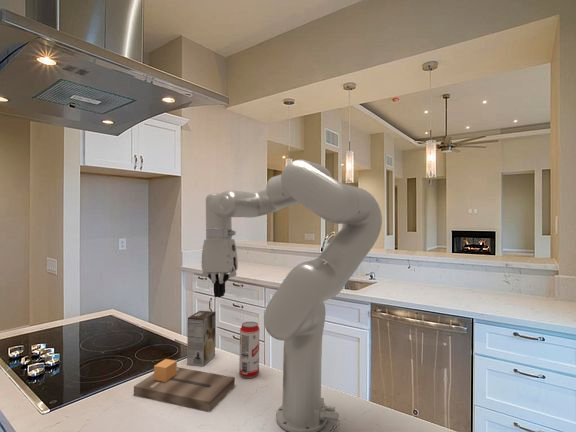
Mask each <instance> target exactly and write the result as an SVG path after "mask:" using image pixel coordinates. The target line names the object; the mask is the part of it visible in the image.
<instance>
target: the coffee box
mask: <svg viewBox="0 0 576 432" xmlns="http://www.w3.org/2000/svg"><path fill="white" fill-rule="evenodd" d="M186 340H187V342H186V344H187V345H186V347H187V349H186V350H187V353H186V359H187V361H186V363H187V365H188V366H198V367H205V366H206V365H207V364H208V363H209V362H210V361H211V360H212V359H213V358H215V356H216V311H213V310H211V311H209V310H198V311H197V312H196V313H193V314H192V315H190V316H188V317H187V339H186Z"/></svg>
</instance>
